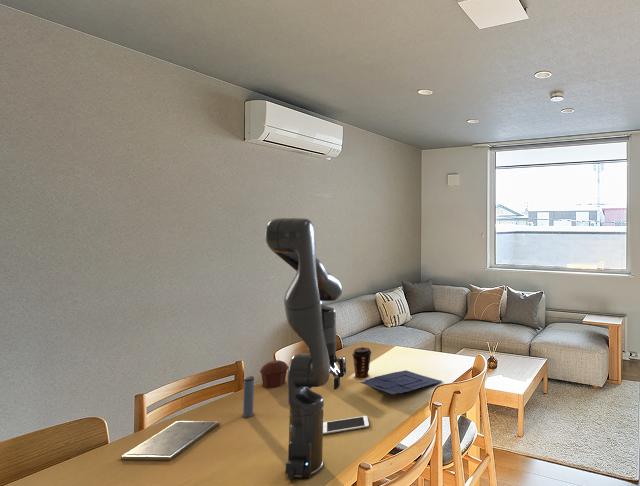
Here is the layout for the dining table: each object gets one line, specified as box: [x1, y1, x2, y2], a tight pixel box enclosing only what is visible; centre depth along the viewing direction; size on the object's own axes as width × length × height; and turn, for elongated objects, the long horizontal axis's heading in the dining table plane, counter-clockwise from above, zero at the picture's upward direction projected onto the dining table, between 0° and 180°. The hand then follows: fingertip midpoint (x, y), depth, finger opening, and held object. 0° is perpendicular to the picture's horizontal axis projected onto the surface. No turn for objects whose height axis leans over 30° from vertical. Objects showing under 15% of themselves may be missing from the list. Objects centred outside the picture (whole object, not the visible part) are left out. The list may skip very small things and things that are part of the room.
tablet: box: [121, 420, 220, 461], centre depth 129 cm, size 22×15×1 cm
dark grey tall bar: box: [242, 375, 255, 418], centre depth 147 cm, size 3×3×14 cm
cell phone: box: [323, 415, 370, 435], centre depth 140 cm, size 8×16×1 cm, turn 111°
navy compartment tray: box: [359, 370, 443, 395], centre depth 176 cm, size 24×30×4 cm
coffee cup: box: [352, 346, 372, 380], centre depth 187 cm, size 9×8×13 cm
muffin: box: [259, 359, 289, 389], centre depth 177 cm, size 12×11×10 cm
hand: (323, 388), depth 129 cm, fingers open, 8 cm apart
